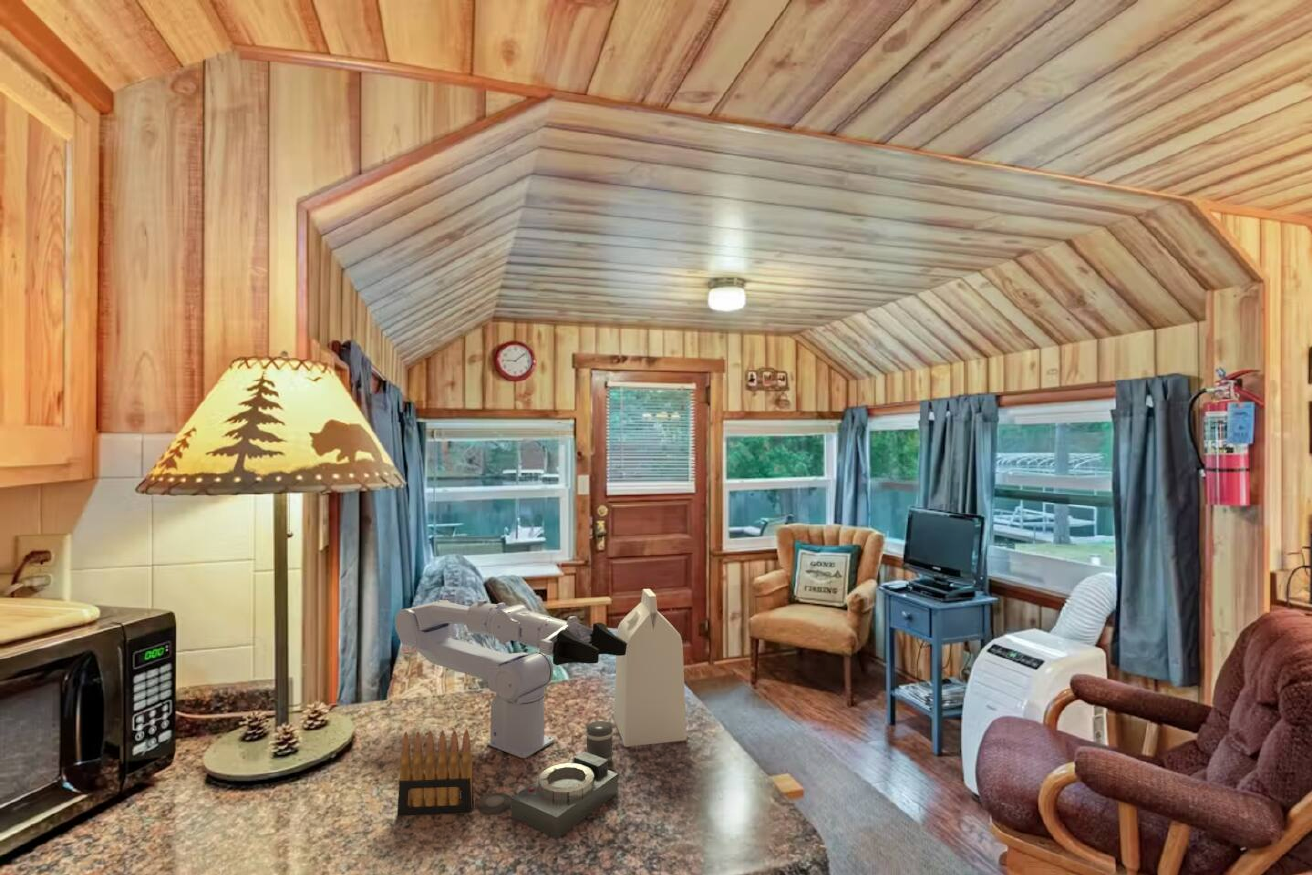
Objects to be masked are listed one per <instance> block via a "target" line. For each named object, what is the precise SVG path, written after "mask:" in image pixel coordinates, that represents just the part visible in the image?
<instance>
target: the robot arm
mask: <svg viewBox="0 0 1312 875" xmlns="http://www.w3.org/2000/svg"><path fill="white" fill-rule="evenodd" d="M578 620H579V618H578V616H575V615H573V616H569V617H567V620H565V619H564V620H563V619H560V618H558V617H557V618H556V617H553V616H550V615H546V614H543V613H538V612H536V611H535V612H534V611H533V610H532V609H531V607H530V606H529V605H527V604H525V603H523V602H518V603H515V604H514V605H511V606H510V605H509V606H508V605H506V603H505V602H499V603H497V604H496V603H489V600H488V599H484V598H483V599H480V600H479V599H478V600H477V601H476V602H474V603H473V604H471V605H470V606H468V605H463V604H459V603H455V602H451V601H449V600H448V599H444V600H443V599H435V600H434V601H432V602H429V603H425V604H420V605H416V606H414V607H409V608H403V609H400V610H398V612H397V613H396V616H395V619H394V629H395V632H396V634H397V636H398V639H399V641H400V643H401V645H405V646H408V647H412V648H414V649H415V650H416V651H417V652H418V653H419V654H420V655H421V656H422V657H423V658H424V659H426V660H427V661H428V662H429V663H432V665H433V664H434V665H436V666H440V667H443V668H446V669H450V670H452V671H456V672H459V673H463V674H465V675H469V676H472V677H475V678H478V679H481V680H485V681H487V686H488V689H489V691H491V692H493V693H495V694H496V695H495V696H494V698H493V700H492V702H491V706H490V739H489V740H488V741H486V745H488V746H490V747H492V748H495V749H498V750H500V751H503V752H505V753H507V754H509V755H513V756H515V757H518V758H520V759H526V758H528V757H530V756H532V755H533V754H535V753H537V752H538V751H541V750H542V749H545V747H547V746H549V745H551V744H553V743H555V738H554V737H552V736H548V735H546V734H545V693H546V692H547V691H548V689H547V688H548V685H549V684H550V683H551V681H552V680H553V678H554V665H555V666H560V665H564V664H571V663H573V664H574V663H575V664H578V663H579V664H598V663H599V657H600V655H609V656H615V657H616V656H623V655H625V654H626V647H627V643H626V642H625V641H623V640H622V639H620V638H618V637H617V635H615V634H614V633H612V632H611V630H610V629H608V627H607V626H606V625H605V623H603V622H594V623H593V626H592V628H590V627H587V626H586V625H584V624H580V623H579V622H578ZM455 625H462V626H465V627H466V628H467V630H468V631H469V632H470V633H472V634H478V635H485V636H491V637H494V638H495V639H496V640H497V641H498V643H499V644H503V645H504V644H508V643H509V642H510V641H512V642H518V643H520V644H523V645H526V646H529V647H532V648H535V649H538V650H537V651H533V652H531V653H529V652H514V653H505V652H502V651H498V650H494V649H490V648H487V647H484V646H480V645H478V644H473V643H470V642H466V641H462V640H459V639H458V640H457V639H456V638H457V634H456V629H455ZM551 655H553V656H552V660H551V658H550V657H549V656H551Z"/></svg>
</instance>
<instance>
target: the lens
mask: <svg viewBox="0 0 1312 875" xmlns="http://www.w3.org/2000/svg"><path fill="white" fill-rule="evenodd" d="M613 735H614V729H613V725H612V723H611V722H609V721H604V720H598V721H597V720H596V721H592V722H590V723H588V724H587V725H586V730H585V736H586V752H587V753H590V754H593V755H596V756H598V757H601V758H604V759H607V760H608V767H610V766H611V765H612V764H613V757H614V750H613Z"/></svg>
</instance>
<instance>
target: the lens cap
mask: <svg viewBox="0 0 1312 875" xmlns="http://www.w3.org/2000/svg"><path fill="white" fill-rule="evenodd" d="M511 797H512V796H510V795H509V794H507V793H504V792H493V793H488V794H486V795H484V796H483V797H481V798H480V799H479V800H478V802H477V809H478V812H480V813H482V814H484V815H498V814H501V813H503V812H506V811H507V810H509V809H511Z"/></svg>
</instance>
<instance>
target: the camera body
mask: <svg viewBox="0 0 1312 875" xmlns="http://www.w3.org/2000/svg"><path fill="white" fill-rule="evenodd" d="M618 793H619V773H617V772H614V771H612V770H609V766H608V760H607V759H604V758H601V757H598V756H596V755H593V754H590V753H587V751H585V750H584V751H581V752H580V753H578V754H577V755H576V756H573V758H571V759H570V760H568V761H567V762H563V763H559V764H556V765H552V766H550V767H548V768H546V769H544V770H543V771H541V773H540V775H539V776H538V779H537V780H536V781H534V782H533V783H532V784H530V785H528V786H527V787H525V788H523V789H522V790H520V791H518V792H517V793H516V794H513V795H512V796H510V797H511V806H510V818H511V819H513V820H515V821H518V822H520V823H521V824H524V825H526V826H528V827H530V828H533V829H535V830H536V831H539V832H541V833H543V834H545V835H548V836H550V837H552V838H553V839H556V840H558V839H560V837H562V836H563V835H564V834H566V833H567V832H569V831H570V830H571V829H572V828H574V827H575V826H576V825H578V824H579V823H580V822H581V821H583V820H584V819H585V818H587V817H588V816H590V815H591V814H592V813H593V812H595V811H596V810H597V809H599V808H600V807H602V806H603V805H604V804H605V803H607V802H608V801H609V800H611V799H612V798H614V797H615V796H616V795H617V794H618Z"/></svg>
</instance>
